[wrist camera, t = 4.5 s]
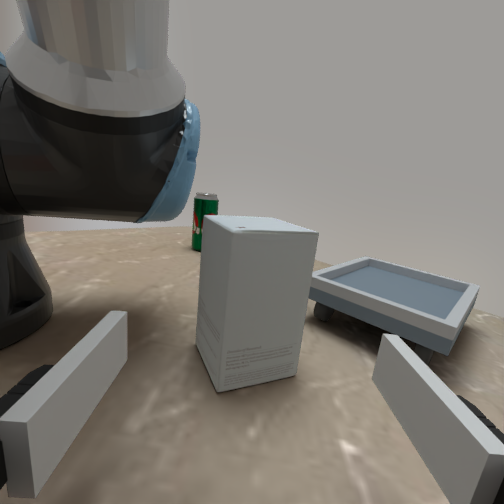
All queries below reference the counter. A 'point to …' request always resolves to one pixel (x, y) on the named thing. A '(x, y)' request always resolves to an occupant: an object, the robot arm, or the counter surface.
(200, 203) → the soda can
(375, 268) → the shallow rimmed tray
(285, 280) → the supplement box
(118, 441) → the counter surface
